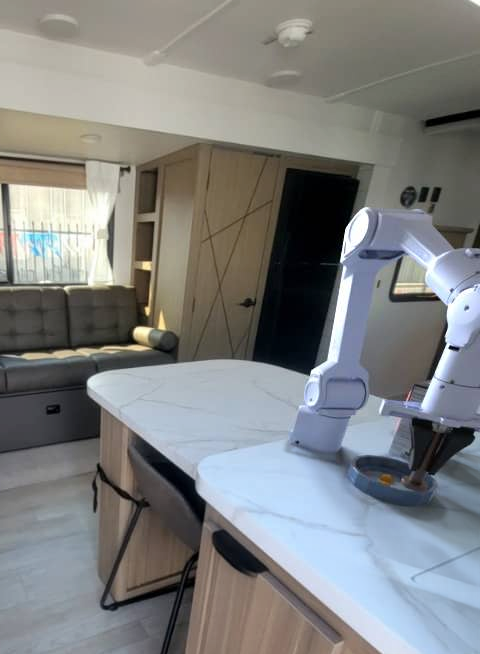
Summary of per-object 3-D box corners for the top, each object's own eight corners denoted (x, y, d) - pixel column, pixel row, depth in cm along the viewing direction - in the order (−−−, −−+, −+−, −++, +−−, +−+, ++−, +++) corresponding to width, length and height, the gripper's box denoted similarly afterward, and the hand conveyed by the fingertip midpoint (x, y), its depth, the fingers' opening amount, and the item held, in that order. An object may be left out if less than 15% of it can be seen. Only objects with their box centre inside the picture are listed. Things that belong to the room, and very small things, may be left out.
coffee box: (408, 449, 86) (439, 376, 79) (443, 462, 81) (478, 386, 74) (383, 457, 82) (413, 382, 75) (417, 472, 77) (453, 393, 70)
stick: (397, 485, 60) (421, 429, 56) (403, 477, 62) (427, 423, 58) (423, 494, 58) (450, 438, 54) (428, 486, 60) (455, 431, 56)
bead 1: (374, 478, 72) (382, 481, 70) (383, 470, 72) (391, 473, 70) (381, 485, 73) (389, 489, 71) (389, 478, 72) (398, 481, 70)
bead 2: (375, 481, 69) (388, 479, 68) (374, 483, 71) (387, 481, 70) (378, 492, 68) (392, 490, 68) (377, 495, 70) (391, 493, 69)
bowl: (344, 498, 68) (352, 478, 67) (344, 467, 78) (351, 448, 76) (433, 522, 63) (443, 501, 61) (421, 485, 73) (430, 466, 71)
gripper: (397, 378, 53) (364, 468, 59) (547, 401, 47) (493, 499, 52) (392, 365, 58) (362, 448, 64) (525, 384, 52) (478, 474, 58)
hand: (420, 470), depth 59 cm, fingers closed on stick
